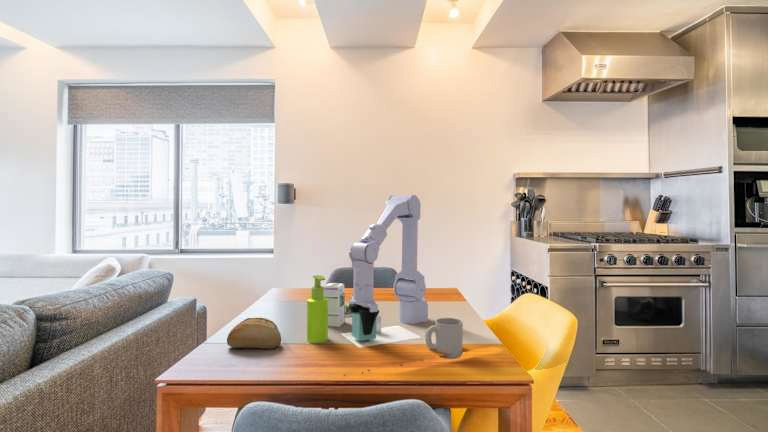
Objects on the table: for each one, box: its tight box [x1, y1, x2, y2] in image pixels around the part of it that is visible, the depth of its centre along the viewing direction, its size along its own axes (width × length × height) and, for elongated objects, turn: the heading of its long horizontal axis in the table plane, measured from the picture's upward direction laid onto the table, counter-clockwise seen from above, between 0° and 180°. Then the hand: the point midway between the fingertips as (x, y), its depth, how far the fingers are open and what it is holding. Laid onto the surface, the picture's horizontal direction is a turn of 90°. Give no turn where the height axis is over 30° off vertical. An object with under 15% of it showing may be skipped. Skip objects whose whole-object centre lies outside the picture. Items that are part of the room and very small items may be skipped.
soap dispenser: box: [306, 274, 329, 344], centre depth 116 cm, size 6×7×20 cm
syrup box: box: [322, 282, 346, 328], centre depth 133 cm, size 6×6×14 cm
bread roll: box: [226, 317, 282, 350], centre depth 115 cm, size 10×15×8 cm, turn 94°
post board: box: [340, 325, 422, 349], centre depth 121 cm, size 20×14×2 cm
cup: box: [424, 317, 464, 360], centre depth 109 cm, size 7×10×9 cm
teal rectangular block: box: [351, 312, 376, 341], centre depth 116 cm, size 5×5×7 cm
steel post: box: [376, 314, 382, 334], centre depth 124 cm, size 3×3×5 cm
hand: (363, 331), depth 116 cm, fingers closed on teal rectangular block, 5 cm apart
